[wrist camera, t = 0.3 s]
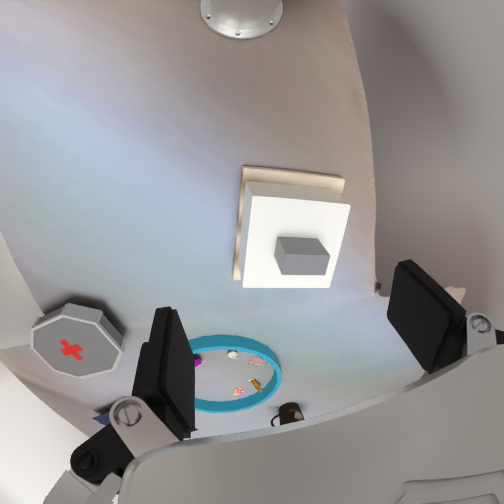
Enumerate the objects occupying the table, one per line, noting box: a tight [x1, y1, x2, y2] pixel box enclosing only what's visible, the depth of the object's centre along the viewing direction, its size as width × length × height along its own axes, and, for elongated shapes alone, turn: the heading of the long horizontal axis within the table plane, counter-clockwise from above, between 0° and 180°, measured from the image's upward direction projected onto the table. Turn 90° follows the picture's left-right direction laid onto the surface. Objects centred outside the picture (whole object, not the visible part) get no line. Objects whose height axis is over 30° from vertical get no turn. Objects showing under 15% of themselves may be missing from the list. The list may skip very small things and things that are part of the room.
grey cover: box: [238, 181, 351, 288], centre depth 41 cm, size 14×14×13 cm
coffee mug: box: [271, 402, 305, 427], centre depth 74 cm, size 12×9×10 cm
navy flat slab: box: [92, 412, 197, 432], centre depth 75 cm, size 24×30×4 cm
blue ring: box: [188, 335, 282, 413], centre depth 64 cm, size 30×30×6 cm
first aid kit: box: [31, 303, 126, 379], centre depth 51 cm, size 18×8×25 cm
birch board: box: [233, 166, 345, 280], centre depth 48 cm, size 20×17×2 cm
